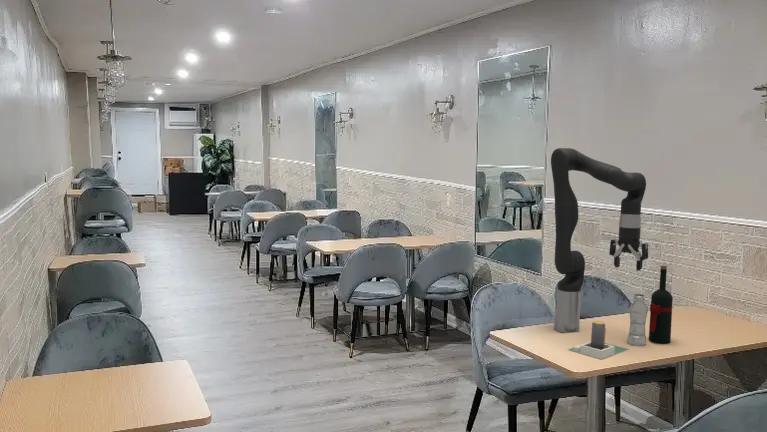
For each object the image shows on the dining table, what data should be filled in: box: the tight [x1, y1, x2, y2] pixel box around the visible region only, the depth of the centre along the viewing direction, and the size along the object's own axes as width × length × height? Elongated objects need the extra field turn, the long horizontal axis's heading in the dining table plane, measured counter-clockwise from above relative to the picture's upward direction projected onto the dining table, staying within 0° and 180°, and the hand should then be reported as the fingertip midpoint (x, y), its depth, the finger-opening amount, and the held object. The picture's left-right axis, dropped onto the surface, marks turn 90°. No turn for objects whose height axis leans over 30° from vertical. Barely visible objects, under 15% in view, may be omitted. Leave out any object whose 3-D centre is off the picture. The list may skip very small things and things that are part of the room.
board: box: [567, 341, 630, 360], centre depth 236 cm, size 14×19×4 cm
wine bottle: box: [648, 265, 674, 345], centre depth 250 cm, size 8×10×30 cm
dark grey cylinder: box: [590, 320, 607, 350], centre depth 230 cm, size 5×4×12 cm
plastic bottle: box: [627, 293, 649, 347], centre depth 243 cm, size 6×7×20 cm
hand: (627, 268), depth 241 cm, fingers open, 8 cm apart
